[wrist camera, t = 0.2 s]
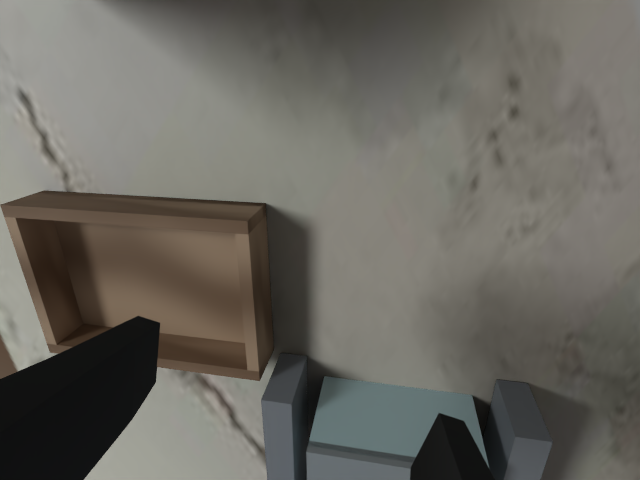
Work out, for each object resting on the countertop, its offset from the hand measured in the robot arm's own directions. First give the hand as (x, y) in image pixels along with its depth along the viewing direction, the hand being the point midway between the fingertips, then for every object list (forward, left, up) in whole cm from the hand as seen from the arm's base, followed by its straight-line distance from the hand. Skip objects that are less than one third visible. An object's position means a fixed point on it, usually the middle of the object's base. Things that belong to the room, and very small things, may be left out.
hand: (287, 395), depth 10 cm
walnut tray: (-2, +10, -10) cm, 14 cm away
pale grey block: (-11, -3, -10) cm, 15 cm away
